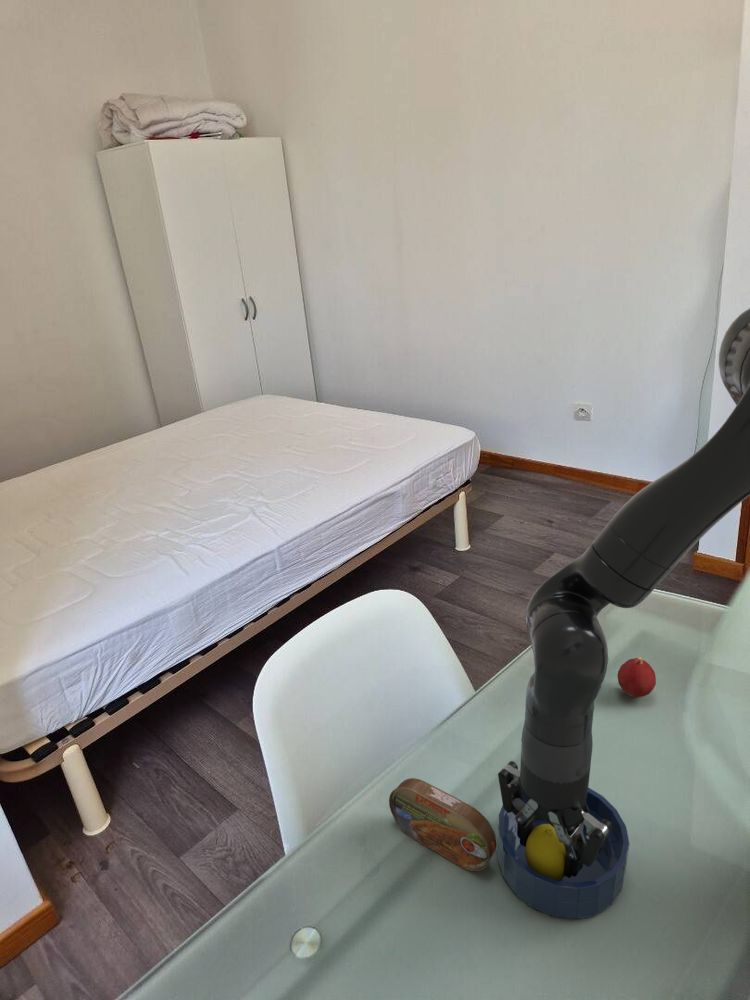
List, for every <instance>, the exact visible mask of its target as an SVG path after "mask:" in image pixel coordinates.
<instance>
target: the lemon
mask: <svg viewBox="0 0 750 1000" xmlns="http://www.w3.org/2000/svg"><path fill="white" fill-rule="evenodd" d="M566 854H567V853H566V850H565V847H564V844H563V843H561V842H559V840H558V837H557V834H556V831H555V828H554V827H552V826H551V825H550V824H542V825H539V826H537V827H535V828H534V829H533V830H532V831H531V833H530V835H529V837H528V839H527V842H526V847H525V855H526V861H527V864H528V866H529V867H530V868H531V869H533V870H534V871H535V872H537V873H538V874H541V875H543V876H546V877H549V878H551V879H554V880H556V881H559V880H561V879H562V878H563V877H565V875H564V866H565V855H566Z"/></svg>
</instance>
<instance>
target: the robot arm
mask: <svg viewBox="0 0 750 1000" xmlns="http://www.w3.org/2000/svg"><path fill="white" fill-rule="evenodd" d="M718 369H719V375H720V379H721V381H722V384H723V387H724V388H725V390H726V391H727V393H728V394H729V396H730V398H731V400H732V401H733V402H734V404H735V407H734V408H733V410H732V411H731V412H730V414H729V415H728V417H727V418H726V420H725V422H724V423H722V424H721V427H720V428H719V429H718V430H717V431H716V432H715V434H714V435H712V437H711V438H709V440H708V441H707V442H706V443H705V444H703V445H702V446H701V447H700V449H698V450H697V451H695V452H694V453H693V454H692V455H691V456H690V457H688V458H687V459H686V460H685V461H683V462H682V463H680V464H678V465H677V466H675V467H674V468H673V469H671V470H669V471H668V472H666V473H665V474H663V475H661V476H659V478H657V479H655V480H653V481H652V482H650V483H649V484H648V485H646V486H645V487H643V488H641V490H639V491H638V492H636V493H635V494H634V495H633V496H632V497H630V498H629V499H628V501H626V502H625V503H624V504H623V505H622V506H621V508H619V509H618V510H617V511H616V513H615V514H614V515H613V516H612V517H611V519H610V520H609V521H608V522H607V523H606V525H605V526H604V527H603V528H602V529H601V531H600V532H599V533H598V534H597V535H596V537H595V538H594V539H593V541H592V542H591V543H590V544H589V545H588V546H587V548H586V550H585V551H584V552H583V553H582V554H581V555H579V556H578V557H576V558H574V559H573V560H571V561H570V562H568V563H567V564H566V565H564V566H563V567H561V569H559V570H558V571H557V572H555V573H554V574H553V575H551V576H550V577H549V578H547V579H545V581H544V582H542V584H540V585H539V587H538V588H537V589H536V590H535V592H534V593H533V594H532V596H531V598H530V600H529V601H528V604H527V606H526V609H525V613H524V619H525V620H524V622H525V626H526V630H527V633H528V638H529V641H530V645H531V650H532V654H533V660H534V661H533V664H534V672H533V674H532V675H531V676H530V677H529V680H528V682H527V687H526V692H525V709H524V722H523V727H522V731H521V738H520V742H521V746H520V748H521V749H520V751H521V752H520V768H519V767H518V764H517V763H516V762H515V761H513V760H510V761H509V762H508V763H507V764H505V766H504V767H503V768H501V770H500V771H499V772H498V773H497V777H498V783H499V790H500V796H501V801H502V805H503V808H504V809H505V811H507V812H508V813H511V812H513V813H514V814H515V819H516V821H517V835H518V838H520V844H521V845H523V846H524V847H526V842H527V839H528V837H529V835H530V833H531V831H532V830H533V829H534V828H535V817H536V816H538V817H539V818H540V819H543V820H545V821H547V822H548V823H549V824H550V825H551V826H552V827H554V828H555V831H556V834H557V837H558V840H559V842H561V843H563V844H564V847H565V850H566V853H567V854H566V855H565V866H564V875H565V876H567V877H568V878H571V877H572V876H574V877H575V876H576V875H577V874H578V873H579V871H580V870H581V869H582V868H583V864H584V865H586V866H588V867H590V866H591V865H592V863H593V862H594V861H595V859H596V858H597V857H598V855H599V854H600V853H601V851H602V849H603V847H604V845H605V842H606V840H607V838H608V836H609V833H610V831H611V829H612V824H611V822H610V821H608V820H607V819H603V820H602V821H601V822H599V821H598V820H597V819H596V818H594V817H593V816H592V815H590V814H589V808H588V806H587V803H586V797H587V793H588V787H589V785H590V776H591V775H590V774H591V765H592V756H593V755H592V754H593V744H594V743H593V742H594V741H593V722H594V711H595V701H596V699H597V697H598V696H599V693H600V690H601V688H602V685H603V682H604V681H605V677H606V674H607V669H608V663H609V649H608V642H607V637H606V636H605V632H604V631H603V628H602V626H601V624H600V621H599V619H598V616H599V614H600V613H601V611H602V610H603V609H604V608H606V607H607V606H608V605H610V604H611V605H612V606H615V607H617V608H621V609H632V608H634V607H637V606H638V605H639V604H642V603H643V601H644V600H646V599H647V598H648V597H649V595H651V593H652V592H653V591H654V590H655V589H656V588H657V587H658V586H659V585H660V583H662V581H663V580H664V579H666V577H667V576H668V574H669V573H670V572H671V571H672V570H673V569H674V568H675V567H676V566H677V565H678V564H679V563H680V561H681V560H682V559H683V558H684V557H685V556H686V555H687V553H689V552H690V550H691V549H692V548H693V547H694V546H695V545H696V544H697V543H698V542H699V541H700V540H701V539H702V538H703V537H704V536H705V535H706V534H707V533H708V532H709V531H710V530H712V528H713V527H714V526H716V524H718V523H719V522H720V521H721V520H722V519H723V518H724V517H725V516H726V515H728V514H730V512H731V511H732V510H734V509H735V508H736V507H737V506H738V505H740V504H741V503H742V502H743V501H744V500H746V499H747V498H748V497H750V307H749V308H747V309H746V310H744V311H743V312H742V313H740V314H739V315H738V316H737V317H736V318H735V319H734V320H733V321H732V322H731V324H730V325H729V327H728V328H727V330H726V331H725V334H724V335H723V338H722V341H721V343H720V346H719V351H718ZM521 790H522V792H523V794H524V796H525V797H526V799H527V801H528V802H527V803H526V804H525V803H524V802H523V801H522V799H523V798H522V792H521ZM534 812H535V815H536V816H534V815H533V813H534ZM583 824H584V825H585V826H586V832H587V835H586V838H587V839H588V840H589V841H588V843H586V840H585V837H584V834H583V828H584V825H583ZM574 840H575V843H574Z"/></svg>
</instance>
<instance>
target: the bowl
mask: <svg viewBox="0 0 750 1000" xmlns="http://www.w3.org/2000/svg"><path fill="white" fill-rule="evenodd" d="M521 792H522V790H521ZM522 798H523V799H522V801H523V802H524V803H525V804H526V803H527V802H528V801H527V799H526V797H525V796H524V794H523V792H522ZM586 803H587V806H588V808H589V814H590V815H592V816H593V817H594V818H596V819H597V820H598V821H599V822H601V821H602V820H603V819H607V820H608V821H610V822H611V824H612V829H611V831H610V833H609V836H608V838H607V840H606V842H605V845H604V847H603V849H602V851H601V853H600V854H599V855H598V857H597V858H596V859H595V861H594V862H593V863H592V865H591V866H590V867H588V866H586V865H584V864H583V868H582V869H581V870H580V871H579V873H578V874H577V875H576V876H575V877H574V876H572V877H571V878H568V877H567V876H565V877H563V878H562V879H561V880H559V881H556V880H554V879H551V878H549V877H546V876H543V875H541V874H538V873H537V872H535V871H534V870H533V869H531V868H530V867H529V866H528V864H527V861H526V855H525V847H524V846H523V845H521V844H520V838H518V835H517V821H516V819H515V814H514V813H513V812H511V813H508V812H507V811H505V809H504V808H503V804H502V805H501V807H500V811H499V812H498V818H497V819H498V823H497V824H498V825H497V826H498V827H497V830H498V831H497V862H498V865H499V867H500V871H501V873H502V877H503V879H504V880H505V881H506V883H507V884H508V886H509V887H510V888H511V890H512V891H513V893H514V894H515V895H516V896H517V897H518V898H519V899H521V900H523V901H524V902H525V903H526V904H528V906H530V907H531V908H533V909H534V910H538V911H540V912H542V913H544V914H547V915H550V916H552V917H555V918H563V919H571V920H572V919H573V920H577V919H578V920H579V919H583V918H587V917H592V916H593V917H594V916H597V915H598V914H600V913H601V912H603V911H604V910H606V909H607V908H610V907H611V906H612V905H613V904H614V903H615V902H616V900H617V898H618V897H619V896H620V895H621V893H622V891H623V886H624V881H625V876H626V871H627V870H626V869H627V864H628V857H629V848H630V839H629V835H628V829H627V826H626V824H625V822H624V820H623V819H622V816H621V815H620V813H619V811H618V810H617V809H616V807H614V805H613V804H611V802H609V801H608V800H607V799H606V797H605V796H604V795H602V794H600V793H598V792H597V791H596V790H594V789H592V788H590V787H589V786H588V793H587V797H586ZM533 815H534V816H536V815H535V812H534V813H533ZM542 824H549V823H548V822H547V821H545V820H543V819H540V818H539V817H538V816H536V817H535V827H537V826H539V825H542ZM583 825H584V824H583ZM583 834H584V837H585V840H586V843H588V841H589V840H588V839H587V838H586V835H587V832H586V826H585V825H584V828H583ZM574 843H575V840H574Z"/></svg>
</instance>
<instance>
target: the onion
mask: <svg viewBox="0 0 750 1000" xmlns="http://www.w3.org/2000/svg"><path fill="white" fill-rule="evenodd" d="M656 677H657V676H656V672H655V670H654V669H653V667H652V666H651V664H650V663H648V661H646V660H644V659H643V658H642V657H640V656H638V657H633V658H630V659H627V660H626V661H624V663H623V664H621V665H620V667H619V669H618V671H617V683H618V685H619V687H620V688H621V690H622V691H623V692H624V693H625V694H627V695H628V696H630V697H631V698H634V699H635V698H642V697H645V696H648V695H649V694H651V693H652V692H653V690H654V689H655V687H656V685H657V678H656Z"/></svg>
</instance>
